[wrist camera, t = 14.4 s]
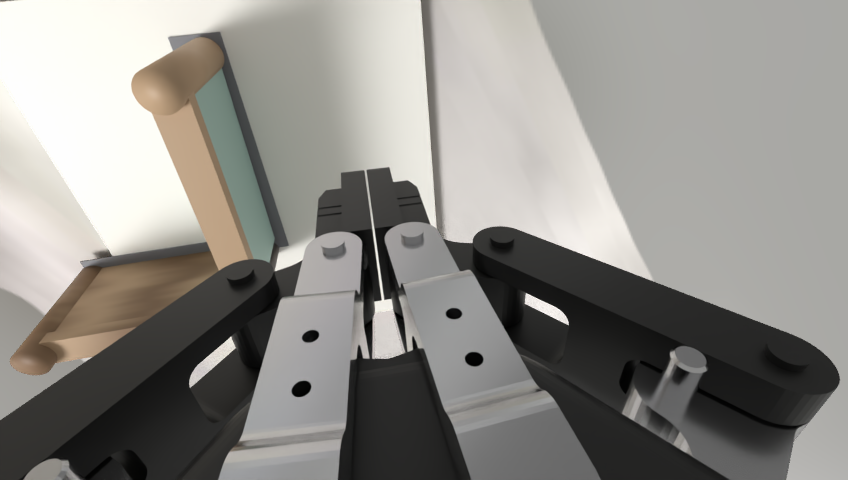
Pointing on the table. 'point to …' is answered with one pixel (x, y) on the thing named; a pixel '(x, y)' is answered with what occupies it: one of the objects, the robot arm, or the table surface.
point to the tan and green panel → (207, 149)
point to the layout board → (252, 99)
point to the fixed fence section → (110, 307)
